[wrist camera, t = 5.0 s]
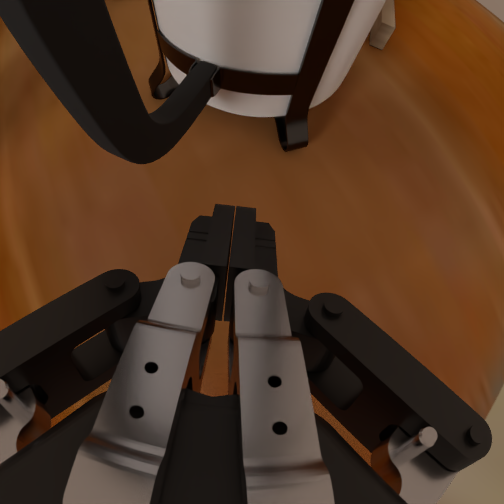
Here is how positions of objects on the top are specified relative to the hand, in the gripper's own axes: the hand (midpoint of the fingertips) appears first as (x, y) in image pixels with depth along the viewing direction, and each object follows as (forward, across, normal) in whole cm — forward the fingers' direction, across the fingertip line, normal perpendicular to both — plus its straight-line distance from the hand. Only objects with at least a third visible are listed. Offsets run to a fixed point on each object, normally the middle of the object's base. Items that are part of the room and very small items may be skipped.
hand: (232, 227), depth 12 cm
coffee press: (+13, 0, -4) cm, 13 cm away
